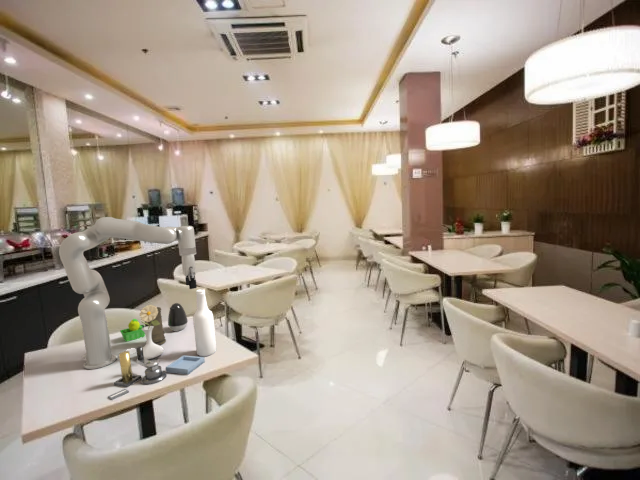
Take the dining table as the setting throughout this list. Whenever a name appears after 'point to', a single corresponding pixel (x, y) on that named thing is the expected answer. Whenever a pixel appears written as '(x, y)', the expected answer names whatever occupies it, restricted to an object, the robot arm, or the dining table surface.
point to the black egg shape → (177, 317)
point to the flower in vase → (150, 348)
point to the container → (157, 329)
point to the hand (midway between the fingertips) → (191, 286)
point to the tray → (185, 364)
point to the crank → (145, 360)
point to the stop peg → (125, 366)
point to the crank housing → (144, 378)
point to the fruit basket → (133, 331)
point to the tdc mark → (118, 394)
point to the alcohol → (204, 326)
